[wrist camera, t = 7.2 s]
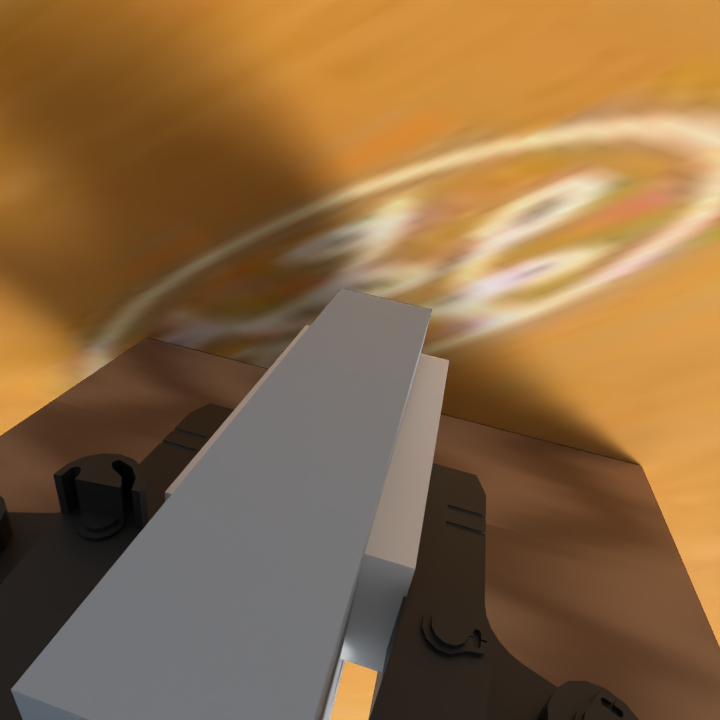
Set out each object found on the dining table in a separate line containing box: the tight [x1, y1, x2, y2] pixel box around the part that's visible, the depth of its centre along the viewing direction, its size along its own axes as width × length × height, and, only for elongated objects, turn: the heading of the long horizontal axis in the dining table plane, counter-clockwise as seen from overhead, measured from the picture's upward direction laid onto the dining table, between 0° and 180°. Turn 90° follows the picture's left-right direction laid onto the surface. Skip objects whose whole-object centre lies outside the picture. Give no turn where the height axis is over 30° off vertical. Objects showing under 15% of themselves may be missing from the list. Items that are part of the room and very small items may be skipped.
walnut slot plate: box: [0, 338, 720, 720], centre depth 15 cm, size 20×2×10 cm, turn 81°
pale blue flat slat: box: [11, 288, 432, 720], centre depth 11 cm, size 14×2×10 cm, turn 171°
